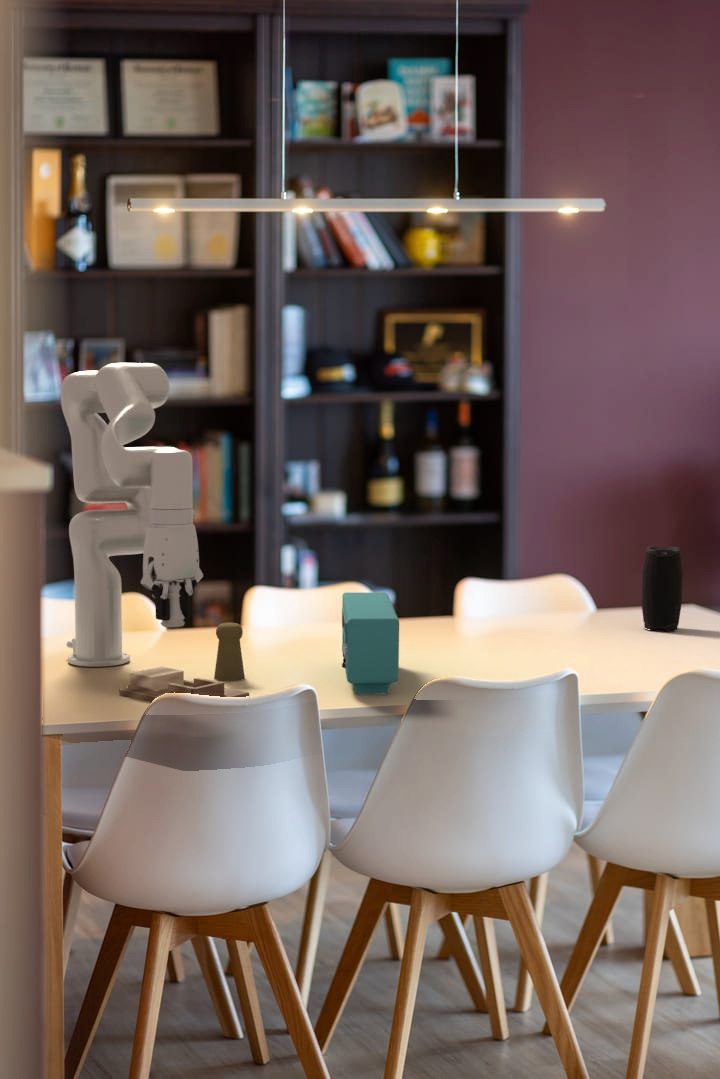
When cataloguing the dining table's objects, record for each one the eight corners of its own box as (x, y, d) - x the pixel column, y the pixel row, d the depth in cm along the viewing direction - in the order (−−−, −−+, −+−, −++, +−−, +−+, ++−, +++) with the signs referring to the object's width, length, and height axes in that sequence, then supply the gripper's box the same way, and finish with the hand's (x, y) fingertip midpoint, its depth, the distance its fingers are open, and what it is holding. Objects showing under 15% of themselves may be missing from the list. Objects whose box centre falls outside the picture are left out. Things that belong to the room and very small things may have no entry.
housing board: (119, 695, 276) (119, 677, 276) (174, 684, 287) (174, 666, 286) (194, 711, 263) (194, 692, 263) (249, 698, 274) (249, 680, 274)
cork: (245, 675, 296) (245, 620, 294) (244, 681, 290) (244, 625, 288) (215, 675, 295) (214, 620, 294) (213, 681, 289) (212, 625, 288)
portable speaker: (634, 627, 354) (636, 546, 352) (668, 625, 357) (671, 545, 355) (653, 633, 346) (655, 550, 344) (687, 631, 349) (690, 548, 347)
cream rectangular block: (130, 687, 277) (129, 673, 277) (161, 681, 283) (161, 666, 283) (151, 692, 273) (151, 677, 273) (183, 685, 279) (183, 670, 279)
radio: (337, 663, 309) (338, 592, 307) (387, 663, 309) (388, 591, 308) (342, 698, 275) (343, 618, 273) (398, 698, 276) (399, 618, 274)
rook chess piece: (161, 623, 272) (161, 580, 271) (186, 623, 272) (185, 580, 272) (159, 627, 268) (158, 583, 267) (184, 627, 268) (183, 583, 267)
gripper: (192, 513, 277) (193, 610, 279) (122, 519, 264) (123, 621, 266) (220, 516, 272) (220, 615, 274) (150, 522, 259) (151, 626, 261)
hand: (172, 617), depth 270 cm, fingers closed on rook chess piece, 4 cm apart
